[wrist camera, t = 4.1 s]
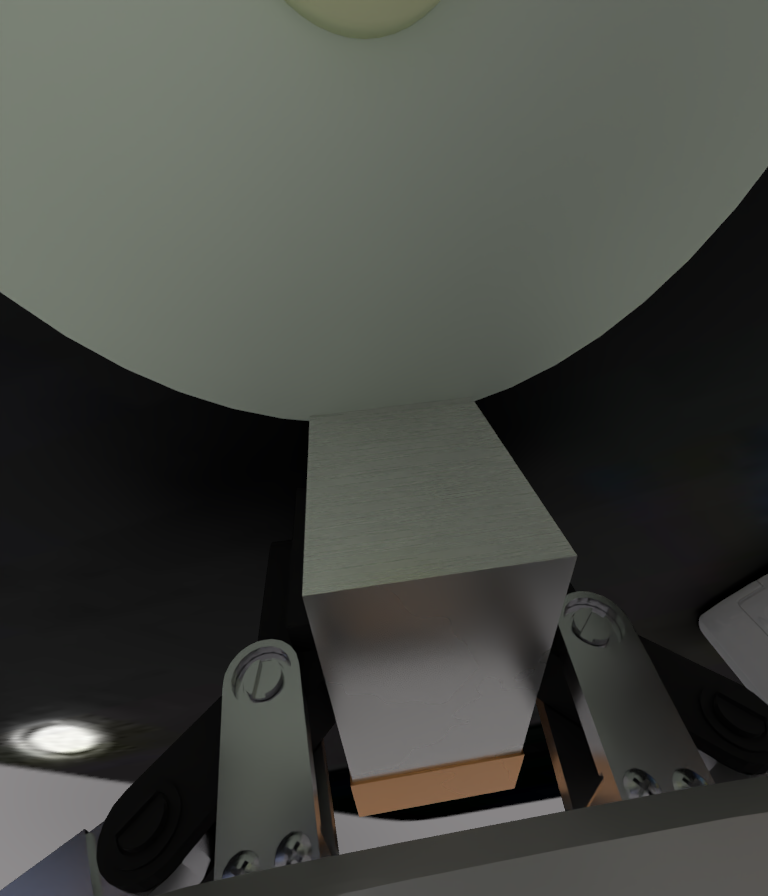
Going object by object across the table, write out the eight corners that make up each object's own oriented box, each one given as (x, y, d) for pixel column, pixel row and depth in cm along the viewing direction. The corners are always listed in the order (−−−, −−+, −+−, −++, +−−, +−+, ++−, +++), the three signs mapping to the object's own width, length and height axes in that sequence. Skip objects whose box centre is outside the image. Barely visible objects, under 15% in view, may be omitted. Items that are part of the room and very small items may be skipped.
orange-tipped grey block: (308, 387, 10) (296, 600, 5) (455, 370, 10) (583, 558, 5) (345, 593, 14) (359, 816, 9) (448, 578, 14) (513, 788, 9)
